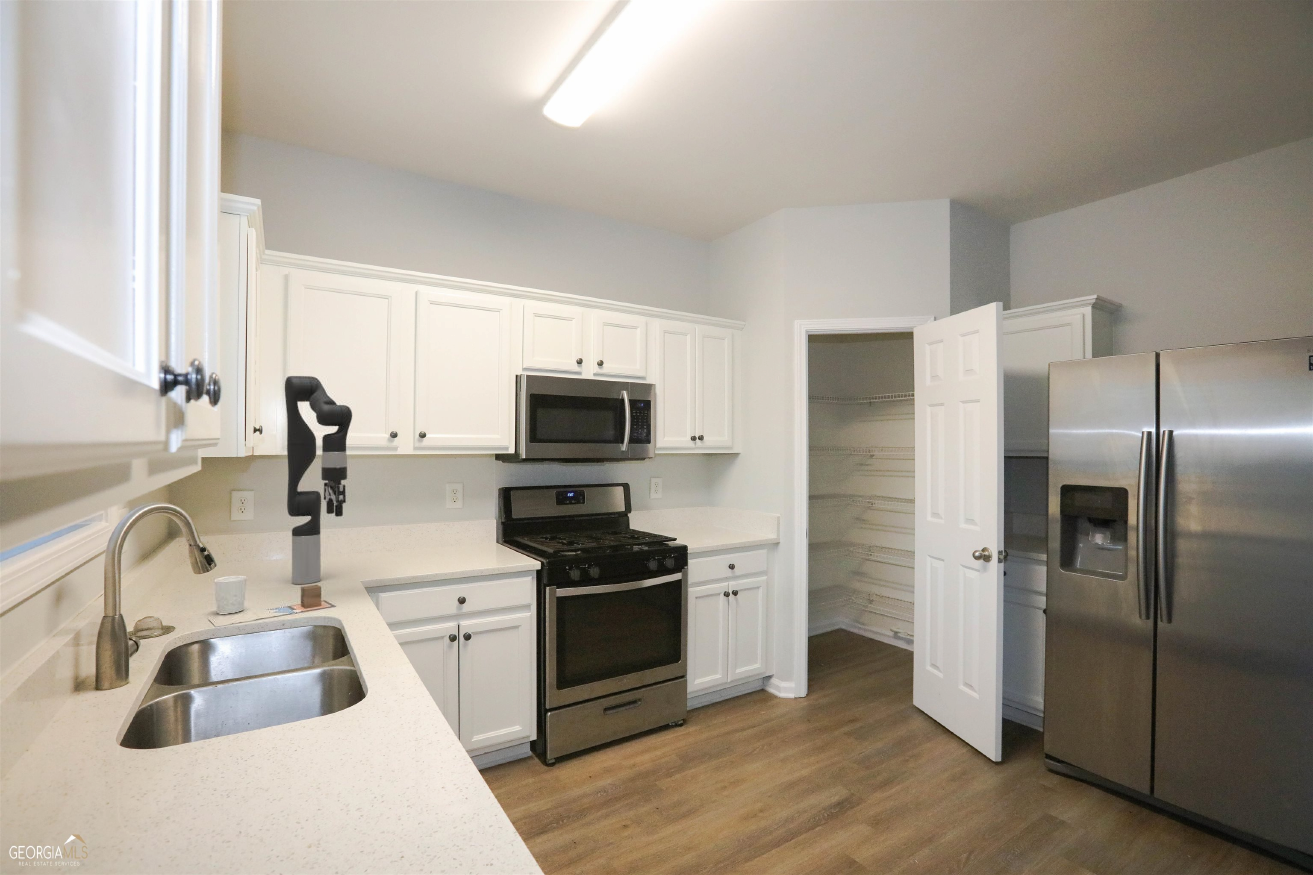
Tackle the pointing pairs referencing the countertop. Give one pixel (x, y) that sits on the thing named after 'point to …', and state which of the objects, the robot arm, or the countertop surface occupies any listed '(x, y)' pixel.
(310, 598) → the walnut block
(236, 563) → the countertop surface
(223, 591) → the white cup
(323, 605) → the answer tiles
